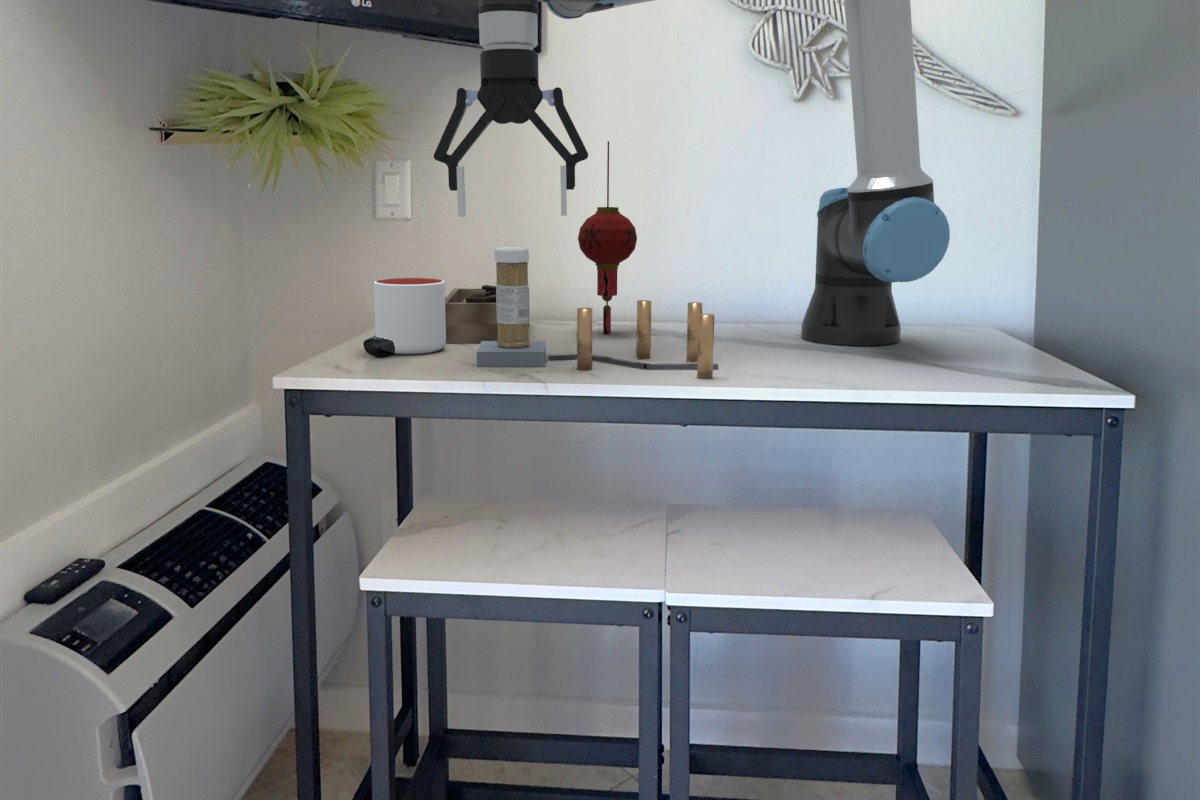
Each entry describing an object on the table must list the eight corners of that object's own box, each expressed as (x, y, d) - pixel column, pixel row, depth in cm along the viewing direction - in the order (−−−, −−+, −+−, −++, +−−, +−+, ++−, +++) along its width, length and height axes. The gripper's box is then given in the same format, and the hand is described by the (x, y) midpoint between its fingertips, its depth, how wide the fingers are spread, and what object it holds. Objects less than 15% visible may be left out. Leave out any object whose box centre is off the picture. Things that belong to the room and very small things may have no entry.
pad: (545, 355, 154) (545, 341, 154) (544, 366, 146) (544, 351, 145) (481, 355, 154) (481, 341, 154) (476, 366, 145) (476, 351, 145)
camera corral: (529, 324, 185) (529, 288, 184) (525, 343, 165) (525, 303, 164) (454, 323, 184) (454, 288, 183) (441, 343, 164) (440, 303, 163)
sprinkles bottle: (517, 342, 153) (515, 245, 150) (536, 346, 149) (535, 247, 146) (489, 345, 150) (488, 247, 147) (508, 350, 146) (507, 249, 143)
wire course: (708, 356, 154) (710, 300, 152) (725, 378, 138) (727, 315, 136) (548, 356, 153) (548, 299, 151) (546, 378, 137) (546, 315, 136)
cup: (432, 357, 152) (430, 285, 150) (364, 354, 154) (362, 283, 152) (455, 346, 162) (454, 278, 160) (392, 343, 164) (389, 276, 162)
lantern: (600, 327, 181) (601, 142, 175) (647, 333, 176) (650, 141, 170) (565, 334, 174) (565, 140, 167) (614, 340, 168) (615, 140, 162)
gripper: (604, 52, 145) (605, 213, 150) (416, 53, 145) (422, 215, 149) (606, 46, 138) (607, 216, 143) (408, 47, 137) (415, 217, 142)
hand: (513, 216), depth 146 cm, fingers open, 13 cm apart
